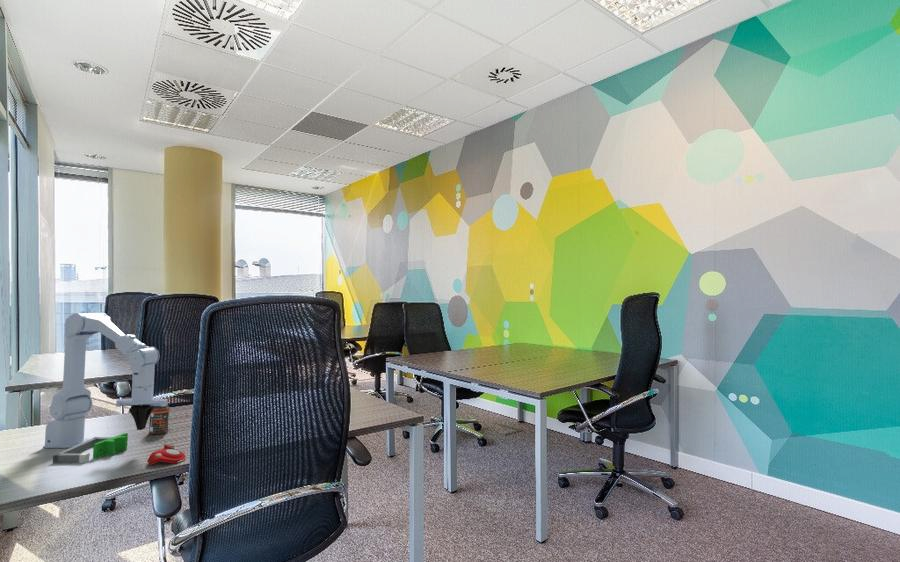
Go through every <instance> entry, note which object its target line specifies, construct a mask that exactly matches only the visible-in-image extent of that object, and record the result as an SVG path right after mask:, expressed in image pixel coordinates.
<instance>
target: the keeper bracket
mask: <svg viewBox="0 0 900 562" xmlns="http://www.w3.org/2000/svg"><path fill="white" fill-rule="evenodd" d="M112 437H113V436H94V437H92V438H89V439H90V440H87V441H85V442H83V443H80V444H78V445H76V446H73V447H71V448H65V449H64V450H62V451H60V452H57V453H56V454H55V453H54V454H53V455H52V463H53V464H66V463H67V464H69V463H70V464H73V463H74V464H85V463H88V462H90V456H91V455H90V454H91V453H90V452H84V451H87V450H89V449H91V448H93V447H94V444H95V443H98V442H101V441H103V440H106V439H109V438H112ZM82 452H83V453H82Z"/></svg>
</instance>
